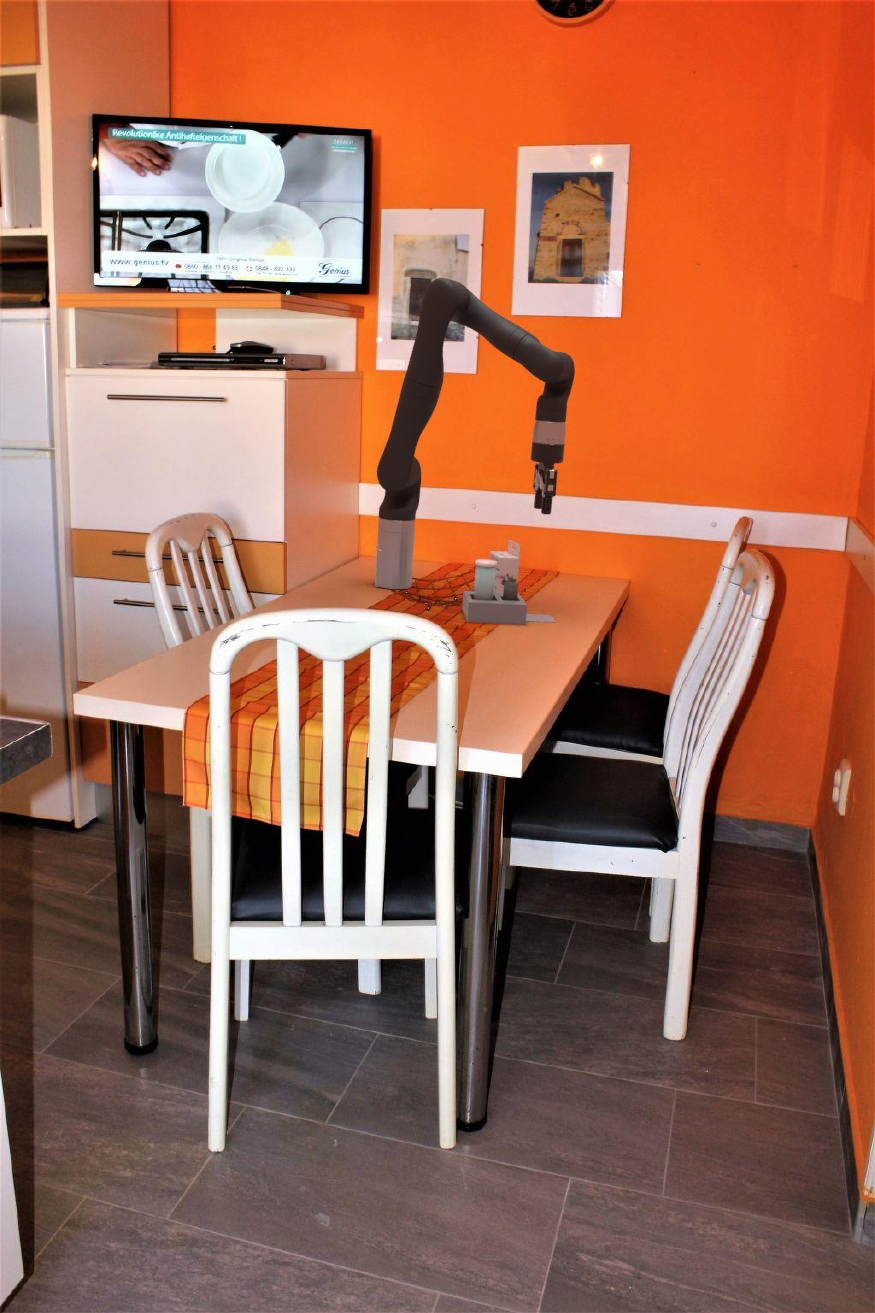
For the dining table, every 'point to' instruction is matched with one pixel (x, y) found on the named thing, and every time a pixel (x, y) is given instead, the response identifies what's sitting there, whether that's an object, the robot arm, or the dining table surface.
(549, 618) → the mat
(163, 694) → the dining table surface
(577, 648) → the dining table surface
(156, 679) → the dining table surface
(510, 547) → the ink box
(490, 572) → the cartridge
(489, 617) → the housing
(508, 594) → the plunger
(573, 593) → the dining table surface
